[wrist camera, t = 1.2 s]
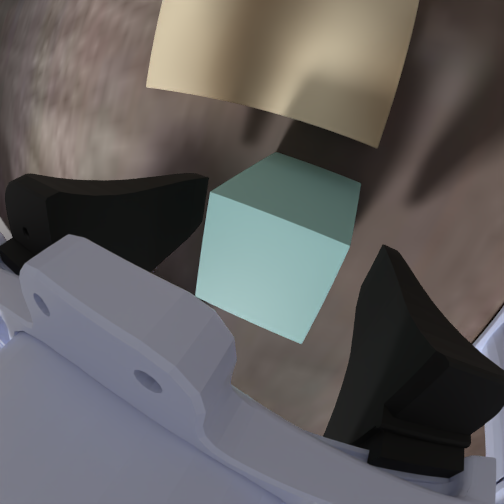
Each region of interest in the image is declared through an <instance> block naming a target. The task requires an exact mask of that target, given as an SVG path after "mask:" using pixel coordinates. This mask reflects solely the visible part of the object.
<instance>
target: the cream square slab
mask: <svg viewBox="0 0 504 504" xmlns="http://www.w3.org/2000/svg"><path fill="white" fill-rule="evenodd" d="M418 4H419V0H163V2H162V6H161V10H160V14H159V19H158V23H157V28H156V33H155V37H154V43H153V48H152V53H151V59H150V65H149V71H148V77H147V84H146V87H149V88H156V89H163V90H170V91H176V92H182V93H188V94H194V95H199V96H204V97H209V98H214V99H219V100H224V101H228V102H233V103H237V104H241V105H245V106H249V107H253V108H257V109H261V110H265V111H268V112H272V113H276V114H279V115H283V116H286V117H290V118H293V119H296V120H299V121H303V122H306V123H309V124H312V125H315V126H318V127H321V128H324V129H327V130H330V131H333V132H335V133H338V134H341V135H344V136H346V137H349V138H352V139H354V140H357V141H360V142H362V143H365V144H367V145H370V146H372V147H375V148H378V145H379V142H380V139H381V136H382V133H383V130H384V127H385V124H386V121H387V118H388V115H389V112H390V109H391V106H392V103H393V99H394V96H395V93H396V90H397V86H398V83H399V79H400V76H401V73H402V69H403V65H404V62H405V58H406V54H407V51H408V47H409V43H410V39H411V35H412V31H413V27H414V22H415V18H416V14H417V9H418Z"/></svg>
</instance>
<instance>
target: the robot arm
mask: <svg viewBox="0 0 504 504" xmlns="http://www.w3.org/2000/svg"><path fill="white" fill-rule="evenodd" d="M208 180H209V178H208V177H205V176H202V175H199V174H194V173H184V174H173V175H164V176H156V177H147V178H138V179H128V180H109V181H100V180H73V179H63V178H54V177H48V176H43V175H37V174H25V175H23V176H21V177H19V178H17V179H15V180H13V181H11V182H9V184H8V185H7V188H6V193H5V203H6V210H7V215H8V220H9V224H10V229H11V233H12V237H13V238H12V239H10V240H8V241H6V239H5V237H4V236H3V234H2V233H0V504H504V306H503V307H502V309H501V310H500V311H499V313H498V314H497V315H496V317H495V318H494V319H493V320H492V322H491V323H490V324H489V325H488V327H487V328H486V329H485V330H484V332H483V333H482V334H481V335H480V336H479V338H478V339H477V340H476V341H475V342H474V343H473V344H471V343H470V342H469V341H468V340H467V339H466V338H464V337H463V336H462V335H461V334H460V333H459V331H458V330H457V329H456V328H455V327H454V326H453V325H452V324H451V323H450V322H449V321H448V320H447V319H446V318H445V316H444V315H443V314H442V313H441V311H440V310H439V309H438V308H437V307H436V305H435V304H434V303H433V301H432V300H431V299H430V297H429V296H428V295H427V293H426V292H425V290H424V289H423V287H422V286H421V285H420V283H419V282H418V280H417V278H416V277H415V275H414V274H413V272H412V271H411V269H410V268H409V266H408V265H407V263H406V261H405V260H404V259H403V257H402V256H401V254H400V253H399V252H398V251H397V250H395V249H393V248H390V247H388V246H386V245H382V247H381V249H380V251H379V253H378V255H377V257H376V259H375V261H374V263H373V265H372V267H371V269H370V271H369V272H368V274H367V276H366V278H365V280H364V282H363V284H362V285H361V289H360V293H359V297H358V301H357V306H356V313H355V322H354V330H353V338H352V346H351V353H350V358H349V363H348V367H347V370H346V374H345V377H344V381H343V384H342V387H341V390H340V393H339V396H338V399H337V402H336V405H335V408H334V410H333V413H332V416H331V418H330V421H329V423H328V426H327V428H326V431H325V433H324V435H323V436H320V435H317V434H314V433H311V432H308V431H305V430H302V429H301V428H299V427H297V426H295V425H294V424H292V423H290V422H289V421H287V420H285V419H284V418H282V417H280V416H279V415H277V414H275V413H274V412H272V411H271V410H269V409H267V408H266V407H264V406H263V405H261V404H260V403H258V402H257V401H255V400H253V399H252V398H250V397H249V396H247V395H246V394H244V393H243V392H241V391H240V390H238V389H237V388H236V387H234V386H233V385H231V376H232V373H233V370H234V367H235V364H236V361H237V358H236V348H235V339H234V337H233V335H232V334H231V332H230V331H229V329H228V328H227V327H226V325H225V324H224V322H223V321H222V320H221V318H220V317H219V315H218V314H217V312H216V311H215V310H214V309H212V308H211V307H210V306H208V305H207V304H205V303H204V302H203V301H201V300H200V299H198V298H197V297H196V296H194V295H193V294H191V293H190V292H188V291H186V290H184V289H182V288H180V287H178V286H176V285H174V284H172V283H170V282H168V281H166V280H164V279H162V278H160V277H158V276H156V275H154V274H152V273H150V272H151V271H152V270H153V269H154V268H155V267H156V266H157V265H159V264H160V263H161V262H162V261H163V260H164V259H165V258H166V257H168V256H169V255H170V254H171V253H172V252H173V251H174V250H176V249H177V248H178V247H179V246H180V245H181V244H182V243H183V242H184V241H186V240H187V239H188V238H189V237H190V236H191V234H192V233H193V232H194V231H195V230H196V229H197V227H198V226H199V225H200V224H201V222H202V219H203V212H204V206H205V199H206V193H207V187H208ZM483 425H485V439H486V457H484V456H468V457H465V458H464V448H467V447H469V446H470V444H471V434H472V433H473V432H475V431H476V430H478V429H479V428H480V427H482V426H483Z"/></svg>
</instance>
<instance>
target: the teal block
mask: <svg viewBox="0 0 504 504" xmlns="http://www.w3.org/2000/svg"><path fill="white" fill-rule="evenodd" d="M360 187H361V183H359V182H357V181H354V180H352V179H349V178H347V177H344V176H342V175H339V174H337V173H334V172H331V171H329V170H326V169H323V168H321V167H318V166H315V165H313V164H310V163H307V162H304V161H301V160H298V159H296V158H293V157H290V156H287V155H284V154H281V153H278V152H275V153H273V154H271V155H270V156H268V157H266V158H264V159H263V160H261V161H259V162H258V163H256V164H254V165H253V166H251V167H249V168H248V169H246V170H244V171H243V172H241V173H239V174H238V175H236V176H235V177H233V178H231V179H230V180H228V181H226V182H225V183H223V184H222V185H220V186H218V187H217V188H215V189H214V190H212V191H211V192H210V196H209V202H208V208H207V215H206V221H205V228H204V235H203V241H202V248H201V256H200V263H199V270H198V278H197V286H196V294H195V296H196V297H198V298H200V299H202V300H204V301H206V302H208V303H210V304H212V305H214V306H217V307H219V308H221V309H223V310H225V311H227V312H229V313H232V314H234V315H236V316H238V317H240V318H242V319H245V320H247V321H249V322H251V323H254V324H256V325H258V326H260V327H263V328H265V329H267V330H269V331H272V332H274V333H276V334H279V335H281V336H283V337H286V338H288V339H290V340H293V341H295V342H298V343H300V344H302V342H303V340H304V339H305V337H306V335H307V333H308V331H309V329H310V327H311V325H312V323H313V322H314V320H315V318H316V316H317V314H318V312H319V310H320V308H321V306H322V304H323V302H324V300H325V298H326V296H327V294H328V292H329V290H330V288H331V286H332V284H333V282H334V280H335V277H336V275H337V273H338V271H339V269H340V267H341V265H342V263H343V260H344V258H345V256H346V254H347V252H348V250H349V247H350V244H351V239H352V234H353V228H354V223H355V217H356V212H357V206H358V200H359V194H360Z"/></svg>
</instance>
